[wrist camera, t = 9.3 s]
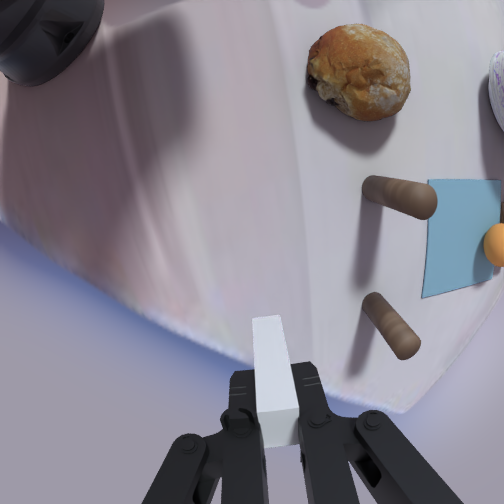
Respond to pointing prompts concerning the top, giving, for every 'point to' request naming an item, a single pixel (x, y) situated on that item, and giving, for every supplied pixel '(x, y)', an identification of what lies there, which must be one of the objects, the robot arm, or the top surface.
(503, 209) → the wall
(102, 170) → the top surface
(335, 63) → the bread roll
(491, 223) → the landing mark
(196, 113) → the top surface
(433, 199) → the post
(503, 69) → the grey stone bowl
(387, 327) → the post
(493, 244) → the ball
